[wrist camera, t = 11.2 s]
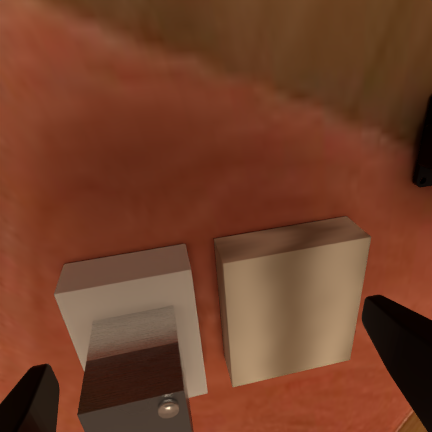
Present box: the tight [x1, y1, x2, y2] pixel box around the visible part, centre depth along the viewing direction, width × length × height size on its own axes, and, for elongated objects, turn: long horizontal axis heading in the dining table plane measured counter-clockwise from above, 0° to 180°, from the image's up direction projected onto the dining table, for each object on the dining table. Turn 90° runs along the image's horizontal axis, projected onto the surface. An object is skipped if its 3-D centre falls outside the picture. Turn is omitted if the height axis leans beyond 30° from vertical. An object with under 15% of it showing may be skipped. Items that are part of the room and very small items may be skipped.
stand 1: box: [54, 244, 208, 397], centre depth 24 cm, size 8×12×3 cm, turn 5°
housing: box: [77, 306, 194, 432], centre depth 20 cm, size 5×7×6 cm
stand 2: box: [214, 216, 371, 387], centre depth 26 cm, size 10×12×3 cm
